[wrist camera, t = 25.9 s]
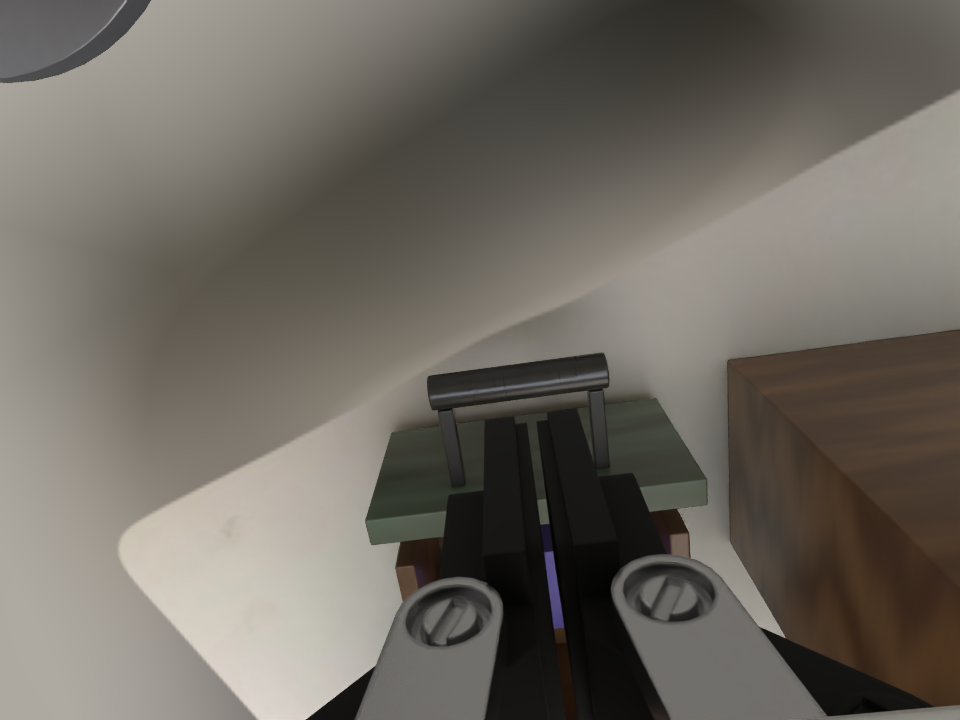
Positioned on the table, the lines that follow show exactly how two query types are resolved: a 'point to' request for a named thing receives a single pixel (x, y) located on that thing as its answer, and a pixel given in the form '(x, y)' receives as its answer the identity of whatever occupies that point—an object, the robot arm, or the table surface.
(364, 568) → the table surface
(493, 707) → the robot arm
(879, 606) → the stand
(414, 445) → the drawer
